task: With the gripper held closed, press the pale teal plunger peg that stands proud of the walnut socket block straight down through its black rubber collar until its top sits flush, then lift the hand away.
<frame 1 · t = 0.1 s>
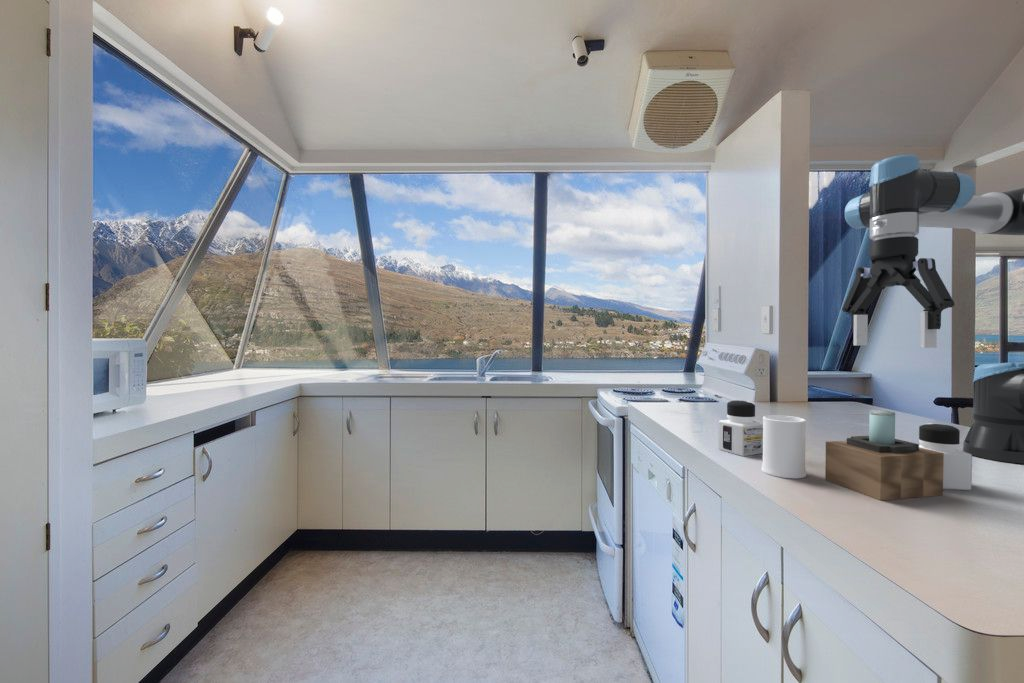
hand: (891, 346, 92), 28 cm above the worktop, fingers open, 13 cm apart
container: (740, 452, 121), on the worktop
socket block: (881, 487, 93), on the worktop
medicine bottle: (938, 484, 95), on the worktop
mug: (783, 471, 104), on the worktop
peg: (881, 433, 92), point 11 cm above the worktop, slide at 6.0 cm
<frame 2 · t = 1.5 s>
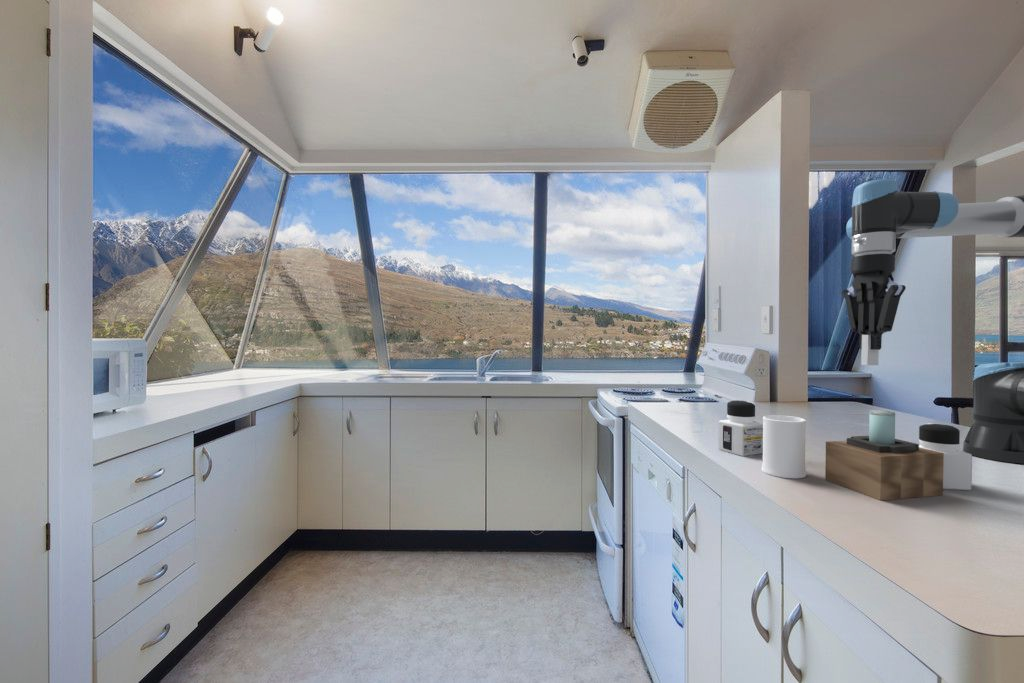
hand: (869, 364, 101), 24 cm above the worktop, fingers closed
nothing on the worktop moved.
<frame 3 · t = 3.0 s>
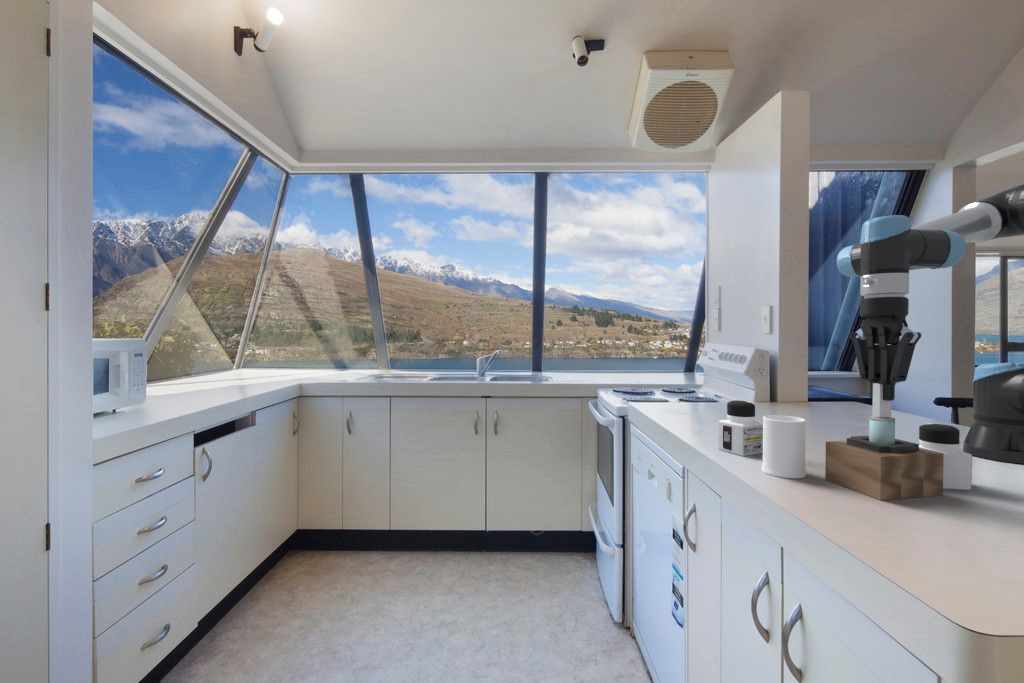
hand: (881, 416, 92), 14 cm above the worktop, fingers closed
peg: (881, 439, 92), point 10 cm above the worktop, slide at 4.9 cm, touching gripper
everything else where it was.
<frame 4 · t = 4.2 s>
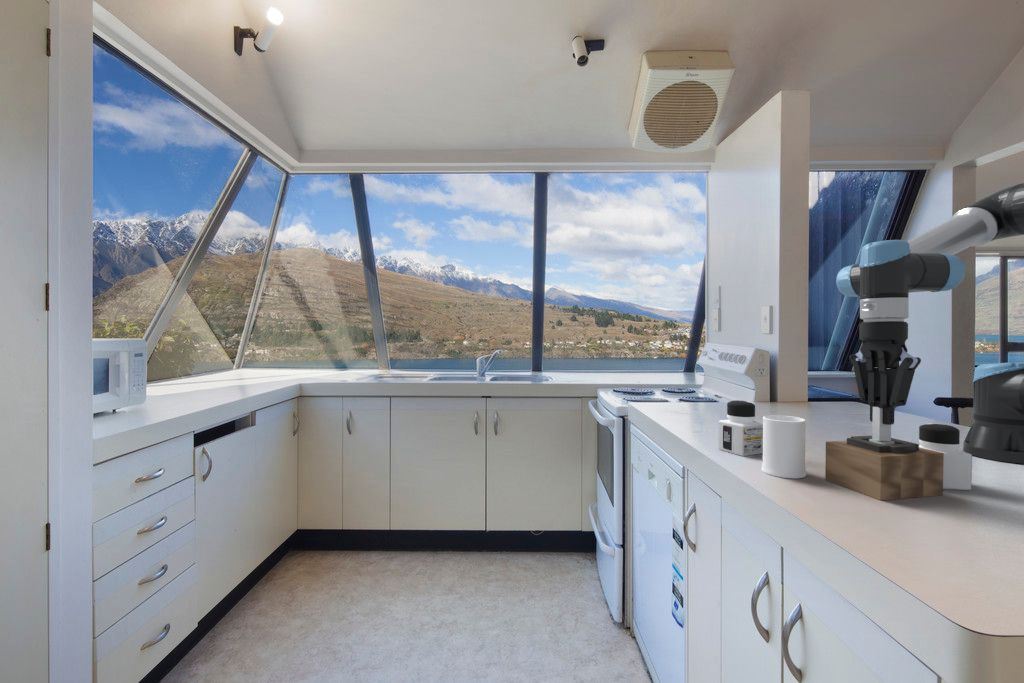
hand: (881, 439, 92), 9 cm above the worktop, fingers closed
peg: (881, 462, 92), point 5 cm above the worktop, slide at 0.2 cm, touching gripper
everything else where it was.
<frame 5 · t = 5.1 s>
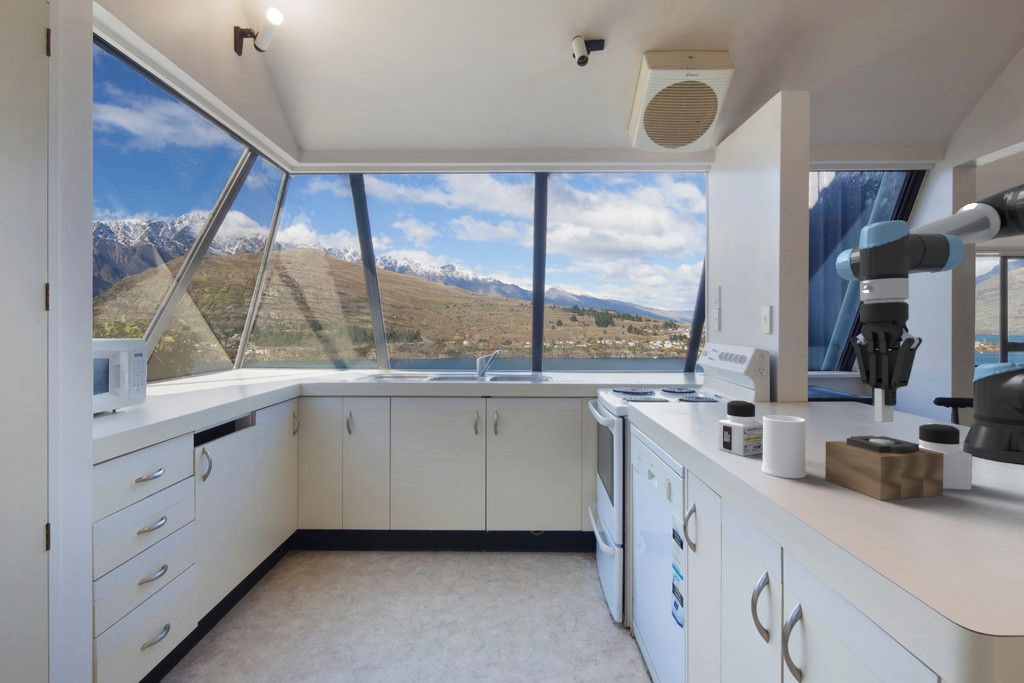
hand: (883, 421, 92), 13 cm above the worktop, fingers closed
peg: (881, 462, 92), point 5 cm above the worktop, slide at 0.2 cm
everything else where it was.
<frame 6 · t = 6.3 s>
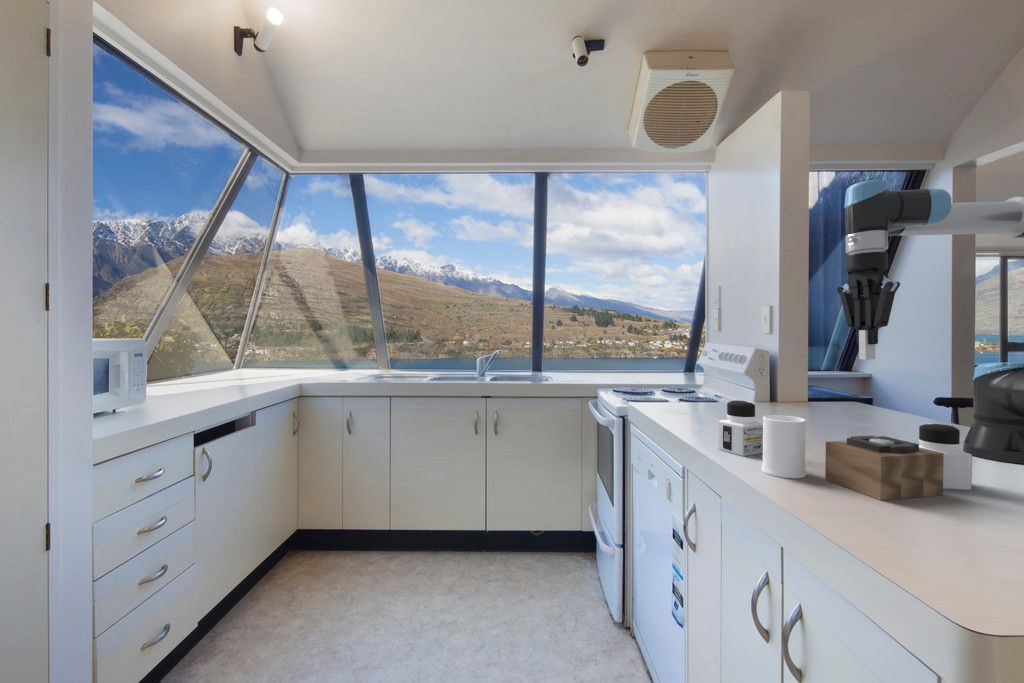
hand: (867, 359, 104), 25 cm above the worktop, fingers closed
nothing on the worktop moved.
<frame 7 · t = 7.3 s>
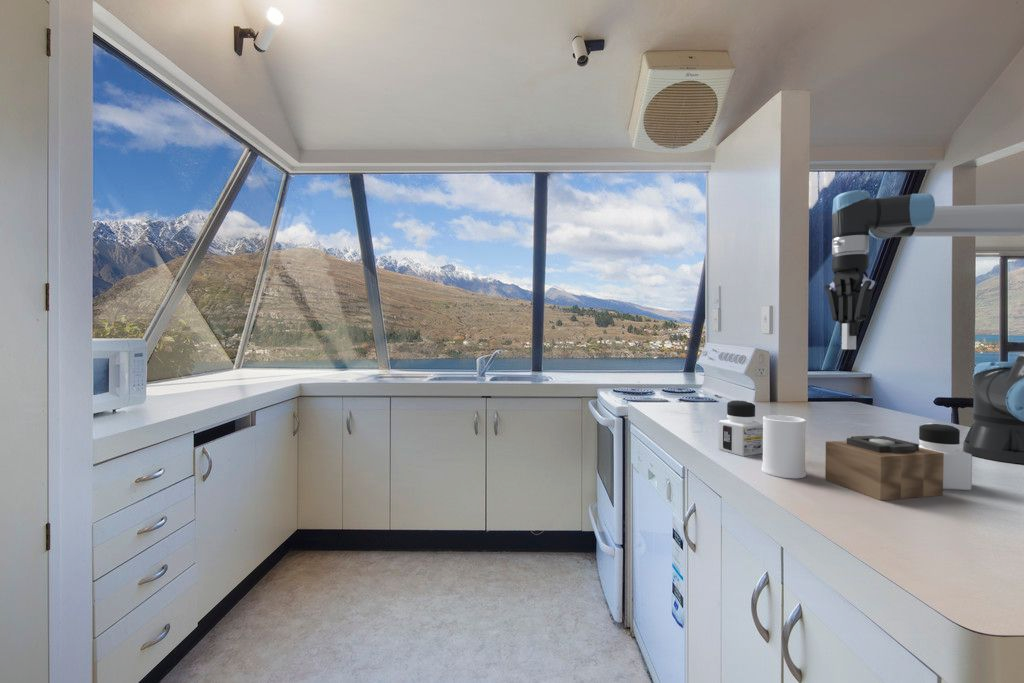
hand: (848, 349, 117), 26 cm above the worktop, fingers closed
nothing on the worktop moved.
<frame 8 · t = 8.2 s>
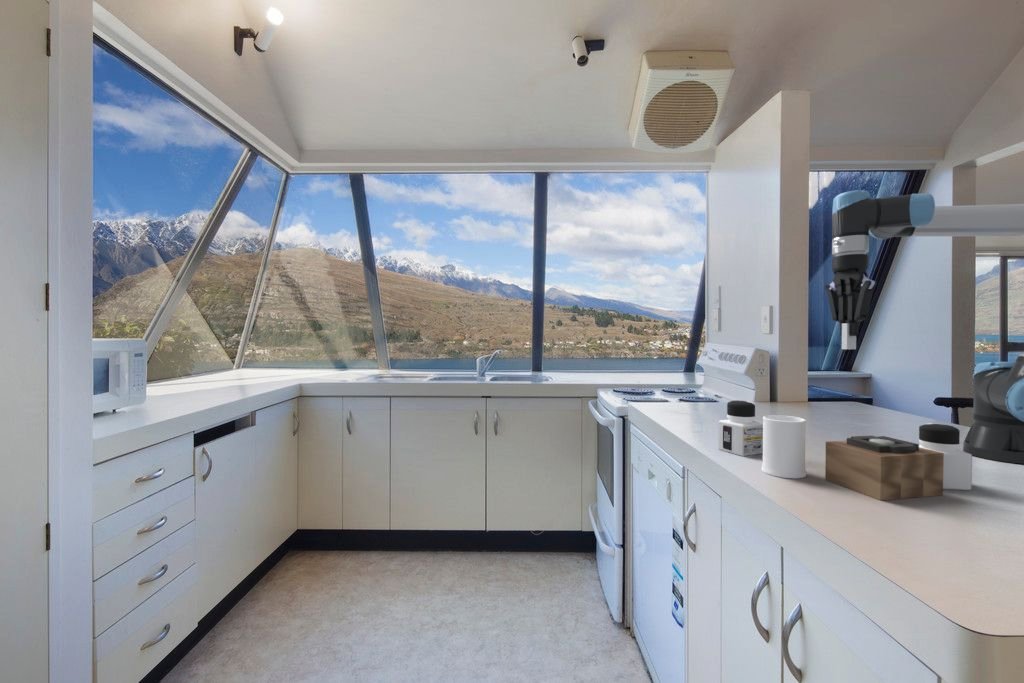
hand: (848, 349, 117), 26 cm above the worktop, fingers closed
nothing on the worktop moved.
at the end: peg slide at 0.2 cm; peg touching nothing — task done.
